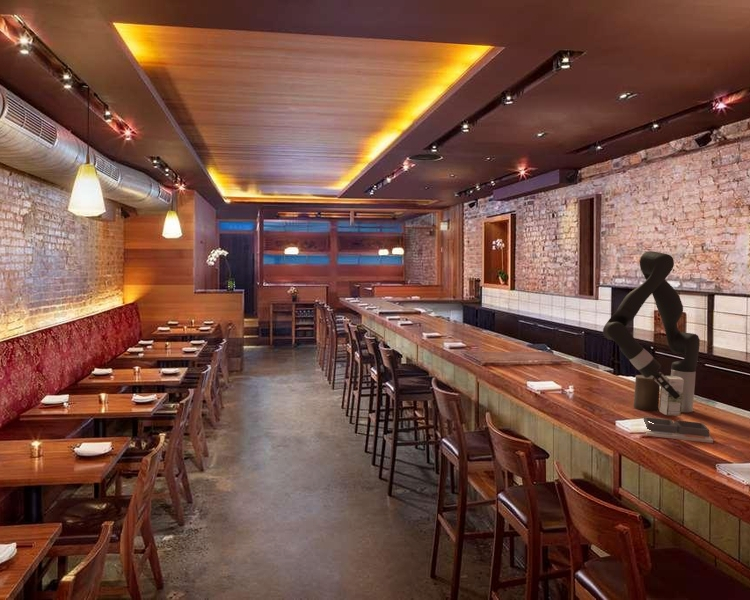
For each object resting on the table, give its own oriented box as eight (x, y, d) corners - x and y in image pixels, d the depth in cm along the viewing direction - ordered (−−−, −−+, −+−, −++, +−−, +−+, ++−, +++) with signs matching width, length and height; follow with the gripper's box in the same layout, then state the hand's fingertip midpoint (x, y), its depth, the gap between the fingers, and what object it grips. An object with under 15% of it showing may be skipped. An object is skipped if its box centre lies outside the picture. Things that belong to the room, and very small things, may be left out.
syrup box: (673, 411, 229) (675, 375, 228) (681, 416, 223) (684, 378, 222) (658, 411, 229) (661, 375, 227) (666, 415, 223) (669, 378, 221)
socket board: (641, 425, 224) (641, 416, 224) (703, 431, 218) (704, 422, 218) (646, 435, 211) (647, 426, 210) (712, 442, 205) (713, 433, 204)
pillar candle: (661, 412, 245) (663, 376, 244) (636, 410, 247) (638, 374, 246) (654, 406, 255) (657, 372, 254) (630, 404, 257) (633, 371, 256)
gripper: (655, 359, 219) (687, 393, 217) (649, 353, 233) (680, 385, 230) (639, 372, 221) (671, 406, 219) (634, 365, 235) (664, 397, 232)
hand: (675, 395), depth 225 cm, fingers closed on syrup box, 7 cm apart
